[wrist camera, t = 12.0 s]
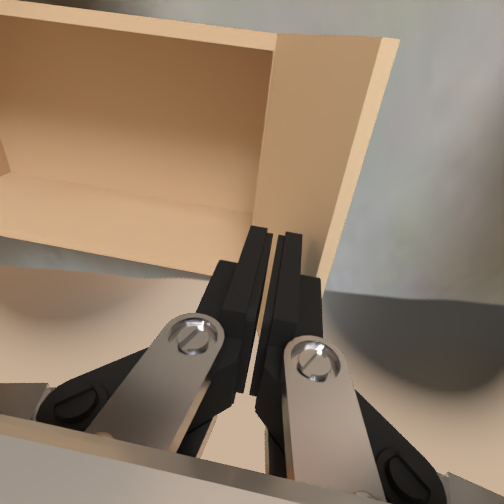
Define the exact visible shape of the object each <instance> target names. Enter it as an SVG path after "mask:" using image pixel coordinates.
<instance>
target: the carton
mask: <svg viewBox="0 0 504 504" xmlns="http://www.w3.org/2000/svg"><path fill="white" fill-rule="evenodd" d="M276 39H277V34H274V33H267V32H259V31H251V30H243V29H236V28H228V27H220V26H212V25H205V24H197V23H189V22H181V21H174V20H166V19H158V18H150V17H143V16H135V15H127V14H119V13H112V12H104V11H96V10H88V9H81V8H73V7H65V6H57V5H50V4H42V3H34V2H26V1H19V0H0V236H4V237H9V238H15V239H20V240H25V241H30V242H36V243H41V244H46V245H52V246H57V247H62V248H67V249H73V250H78V251H83V252H89V253H94V254H99V255H105V256H110V257H115V258H120V259H126V260H131V261H136V262H142V263H147V264H152V265H158V266H163V267H168V268H173V269H179V270H184V271H189V272H195V273H200V274H205V275H210V276H212V275H213V272H214V270H215V268H216V266H217V263H218V262H219V260H226V261H231V262H236V263H238V261H239V258H240V255H241V252H242V249H243V246H244V243H245V241H246V238H247V235H248V232H249V229H250V226H251V225H253V221H254V213H255V206H256V198H257V190H258V182H259V174H260V166H261V158H262V150H263V142H264V134H265V126H266V119H267V111H268V103H269V95H270V87H271V79H272V71H273V63H274V55H275V47H276Z"/></svg>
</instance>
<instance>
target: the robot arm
mask: <svg viewBox="0 0 504 504" xmlns="http://www.w3.org/2000/svg"><path fill="white" fill-rule="evenodd" d="M267 230H268V228H264V227H259V226H253V225H251V226H250V229H249V232H248V235H247V238H246V241H245V243H244V246H243V249H242V252H241V255H240V258H239V261H238V263H236V262H231V261H226V260H219V262H218V263H217V266H216V268H215V270H214V272H213V275H212V277H211V279H210V281H209V284H208V286H207V288H206V291H205V293H204V295H203V297H202V299H201V302H200V304H199V306H198V309H197V311H196V313H188V314H184V315H180V316H178V317H176V318H174V319H172V320H171V321H170V322H169V323H168V324H167V325H166V326H165V327H164V328H163V330H162V331H161V332H160V334H159V335H158V336H157V337H156V339H155V340H154V341H153V343H152V344H151V345H150V347H148V348H146V349H143V350H141V351H138V352H136V353H133V354H131V355H129V356H126V357H124V358H121V359H119V360H117V361H114V362H112V363H110V364H107V365H105V366H102V367H100V368H98V369H95V370H93V371H90V372H88V373H85V374H83V375H81V376H78V377H76V378H73V379H71V380H69V381H67V382H65V383H63V384H61V385H59V386H58V387H57V388H50V387H49V384H48V383H0V504H504V497H503V496H501V495H498V494H496V493H494V492H492V491H490V490H487V489H485V488H483V487H481V486H478V485H476V484H474V483H472V482H470V481H467V480H465V479H463V478H461V477H458V476H456V475H454V474H452V473H450V472H447V474H445V476H444V475H442V474H440V473H437V472H436V471H435V469H434V468H433V467H432V466H431V464H430V463H429V462H428V461H427V460H426V459H425V457H423V456H422V455H421V454H420V453H419V452H418V451H417V450H416V449H415V448H414V447H413V446H412V445H411V444H410V443H409V442H408V441H407V440H406V439H405V438H404V437H403V436H402V435H401V434H400V433H399V432H398V431H397V430H396V429H395V428H394V427H393V426H392V425H391V424H390V423H389V422H388V421H386V419H385V418H384V417H383V416H382V415H381V414H380V413H379V412H377V410H375V408H374V407H372V406H371V405H370V404H369V403H368V402H367V401H366V400H365V399H364V398H363V397H362V396H361V395H360V394H359V393H358V392H357V391H356V390H355V389H354V386H353V382H352V379H351V376H350V372H349V368H348V365H347V362H346V359H345V357H344V355H343V354H342V353H341V351H340V350H339V349H338V348H337V347H336V346H335V345H333V344H332V343H331V342H329V341H327V340H325V339H323V326H322V297H321V279H320V278H317V277H312V276H307V275H301V256H302V237H303V234H298V233H293V232H287V231H286V233H285V236H284V235H278V240H277V245H276V251H275V256H274V262H273V267H272V273H271V278H270V283H269V289H268V294H267V300H266V305H265V311H264V316H263V322H262V327H261V333H260V338H259V344H258V350H257V355H256V361H255V366H254V372H253V377H252V383H251V388H250V394H249V395H252V396H257V398H256V405H255V409H256V410H255V412H256V413H257V414H258V416H259V417H260V419H261V420H262V422H263V423H264V424H265V426H266V427H265V469H266V474H264V473H259V472H255V471H251V470H246V469H242V468H238V467H233V466H229V465H224V464H221V463H216V462H212V461H208V460H203V459H200V457H201V455H202V452H203V450H204V448H205V445H206V443H207V440H208V438H209V436H210V433H211V431H212V429H213V426H214V424H215V422H216V418H217V414H219V413H221V412H222V411H224V410H226V409H227V408H229V407H231V405H232V404H233V403H234V399H235V394H236V392H238V393H243V392H244V388H245V383H246V378H247V373H248V367H249V363H250V358H251V353H252V348H253V342H254V338H255V333H256V328H257V323H258V318H259V313H260V308H261V303H262V297H263V292H264V286H265V280H266V274H267V268H268V262H269V256H270V251H271V245H272V239H273V233H267Z"/></svg>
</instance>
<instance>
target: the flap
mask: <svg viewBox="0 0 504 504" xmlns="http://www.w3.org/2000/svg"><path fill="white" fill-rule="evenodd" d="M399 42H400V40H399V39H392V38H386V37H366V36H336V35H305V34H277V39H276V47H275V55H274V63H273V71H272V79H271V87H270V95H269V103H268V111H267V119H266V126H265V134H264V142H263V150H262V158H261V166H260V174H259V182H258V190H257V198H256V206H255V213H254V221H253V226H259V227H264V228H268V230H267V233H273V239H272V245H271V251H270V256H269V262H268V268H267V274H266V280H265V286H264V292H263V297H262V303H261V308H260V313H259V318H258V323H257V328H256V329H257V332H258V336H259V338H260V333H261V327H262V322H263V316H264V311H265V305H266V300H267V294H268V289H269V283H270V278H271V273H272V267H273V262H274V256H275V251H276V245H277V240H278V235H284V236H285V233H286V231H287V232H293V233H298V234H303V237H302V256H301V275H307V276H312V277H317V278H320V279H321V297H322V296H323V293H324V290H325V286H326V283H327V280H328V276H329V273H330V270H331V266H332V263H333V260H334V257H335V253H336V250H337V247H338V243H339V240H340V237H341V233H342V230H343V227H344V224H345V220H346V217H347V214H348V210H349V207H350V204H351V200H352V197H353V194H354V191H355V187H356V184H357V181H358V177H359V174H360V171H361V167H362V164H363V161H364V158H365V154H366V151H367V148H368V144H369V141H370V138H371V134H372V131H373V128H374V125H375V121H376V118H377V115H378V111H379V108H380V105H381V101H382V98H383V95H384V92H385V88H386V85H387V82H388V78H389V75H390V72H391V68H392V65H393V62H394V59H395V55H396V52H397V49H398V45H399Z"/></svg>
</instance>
